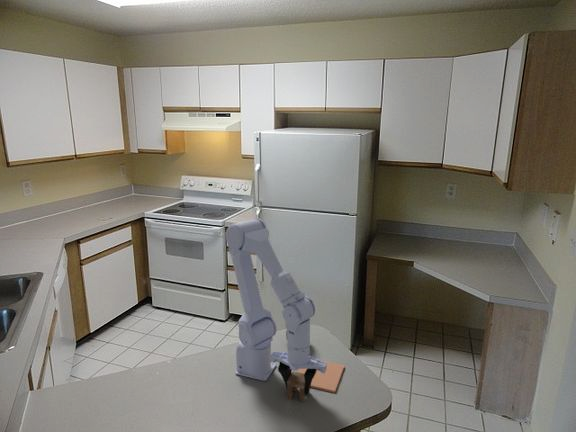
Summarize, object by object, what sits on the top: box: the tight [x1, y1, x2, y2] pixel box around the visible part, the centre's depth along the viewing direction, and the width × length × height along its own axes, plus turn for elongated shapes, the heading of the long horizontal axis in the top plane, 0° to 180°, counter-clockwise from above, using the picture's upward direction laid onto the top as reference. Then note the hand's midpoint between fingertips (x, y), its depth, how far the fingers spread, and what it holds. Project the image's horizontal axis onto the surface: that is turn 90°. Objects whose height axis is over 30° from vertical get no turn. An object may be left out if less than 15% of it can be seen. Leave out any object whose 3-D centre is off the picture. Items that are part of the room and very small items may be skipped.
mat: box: [296, 360, 345, 393], centre depth 113 cm, size 12×12×1 cm
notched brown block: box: [286, 370, 306, 403], centre depth 104 cm, size 4×4×5 cm
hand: (298, 390), depth 105 cm, fingers closed on notched brown block, 4 cm apart
